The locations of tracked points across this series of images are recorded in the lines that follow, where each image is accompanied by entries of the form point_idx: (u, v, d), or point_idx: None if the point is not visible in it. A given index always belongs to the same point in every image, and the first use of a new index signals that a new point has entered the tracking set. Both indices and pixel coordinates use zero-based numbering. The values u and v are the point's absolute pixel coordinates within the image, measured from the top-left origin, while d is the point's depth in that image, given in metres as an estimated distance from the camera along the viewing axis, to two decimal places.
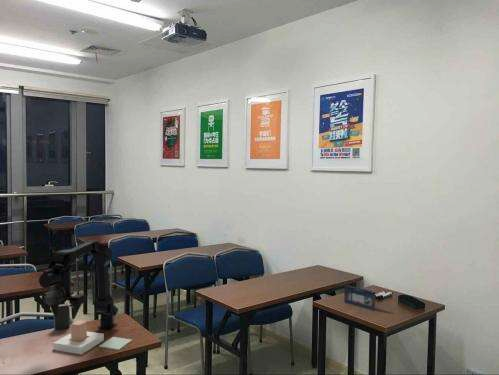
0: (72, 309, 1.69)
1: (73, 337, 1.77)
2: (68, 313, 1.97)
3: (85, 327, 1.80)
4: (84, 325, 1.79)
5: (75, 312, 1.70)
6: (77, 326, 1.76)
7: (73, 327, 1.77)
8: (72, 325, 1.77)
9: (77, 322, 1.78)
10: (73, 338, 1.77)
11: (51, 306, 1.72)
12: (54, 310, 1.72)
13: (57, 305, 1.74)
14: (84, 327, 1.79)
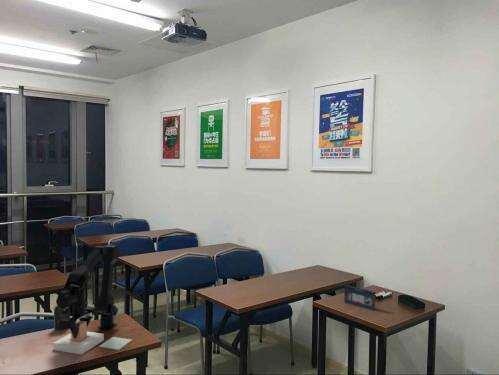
0: None
1: (73, 337, 1.77)
2: None
3: (85, 327, 1.80)
4: (84, 325, 1.79)
5: (73, 332, 1.76)
6: None
7: None
8: None
9: (77, 322, 1.78)
10: (73, 338, 1.77)
11: None
12: None
13: None
14: (84, 327, 1.79)
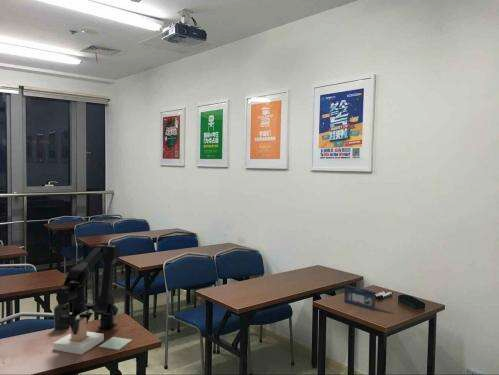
0: None
1: None
2: (68, 313, 1.97)
3: (85, 323, 1.79)
4: (84, 322, 1.79)
5: (73, 328, 1.75)
6: None
7: None
8: None
9: (77, 319, 1.78)
10: (73, 334, 1.77)
11: None
12: None
13: None
14: (84, 324, 1.79)
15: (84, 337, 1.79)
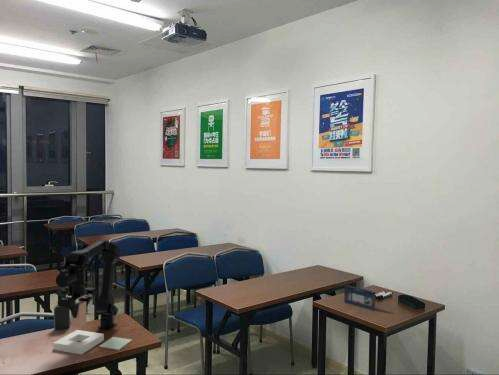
0: None
1: None
2: (68, 313, 1.97)
3: (85, 307, 1.79)
4: (83, 305, 1.78)
5: (72, 312, 1.75)
6: None
7: None
8: None
9: (77, 302, 1.78)
10: (73, 318, 1.77)
11: None
12: None
13: None
14: (83, 307, 1.78)
15: (84, 321, 1.79)
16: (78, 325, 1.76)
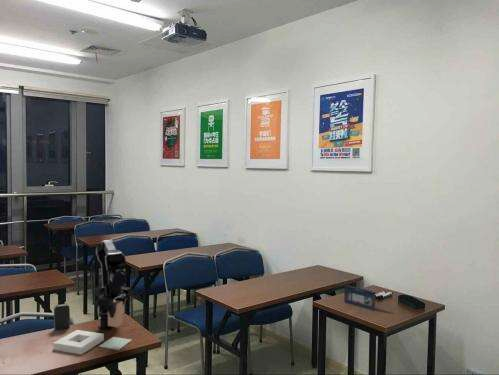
0: None
1: None
2: (68, 313, 1.97)
3: (121, 307, 1.80)
4: (120, 305, 1.80)
5: (110, 311, 1.76)
6: None
7: None
8: None
9: (114, 302, 1.79)
10: (110, 317, 1.78)
11: None
12: None
13: None
14: (120, 307, 1.80)
15: (120, 320, 1.80)
16: (115, 324, 1.77)
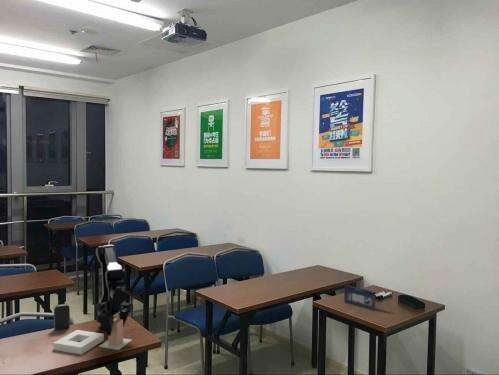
0: None
1: (110, 335, 1.79)
2: (68, 313, 1.97)
3: (122, 325, 1.81)
4: (120, 323, 1.80)
5: (107, 329, 1.75)
6: (114, 324, 1.78)
7: None
8: None
9: (114, 320, 1.80)
10: (110, 336, 1.79)
11: None
12: None
13: (124, 318, 1.84)
14: (121, 325, 1.80)
15: (121, 338, 1.81)
16: (116, 343, 1.78)
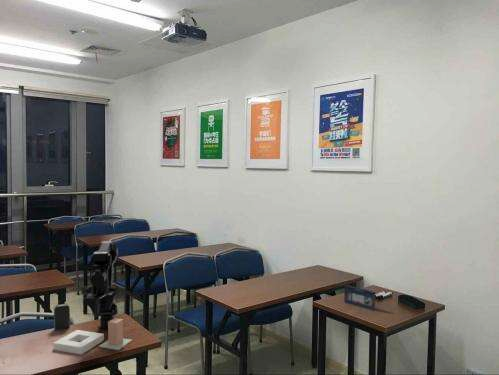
0: None
1: (110, 335, 1.79)
2: (68, 313, 1.97)
3: (122, 325, 1.81)
4: (120, 323, 1.80)
5: (94, 312, 1.78)
6: (114, 324, 1.78)
7: (110, 325, 1.78)
8: (109, 323, 1.78)
9: (114, 320, 1.80)
10: (110, 336, 1.79)
11: None
12: (106, 304, 1.88)
13: (110, 301, 1.88)
14: (121, 325, 1.80)
15: (121, 338, 1.81)
16: (116, 343, 1.78)
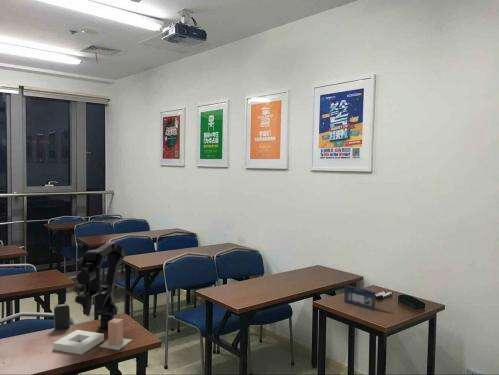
0: None
1: (110, 335, 1.79)
2: (68, 313, 1.97)
3: (122, 325, 1.81)
4: (120, 323, 1.80)
5: (86, 310, 1.80)
6: (114, 324, 1.78)
7: (110, 325, 1.78)
8: (109, 323, 1.78)
9: (114, 320, 1.80)
10: (110, 336, 1.79)
11: None
12: (100, 302, 1.90)
13: (103, 300, 1.89)
14: (121, 325, 1.80)
15: (121, 338, 1.81)
16: (116, 343, 1.78)
